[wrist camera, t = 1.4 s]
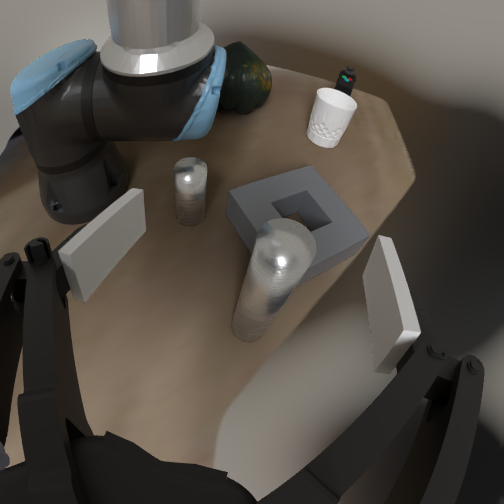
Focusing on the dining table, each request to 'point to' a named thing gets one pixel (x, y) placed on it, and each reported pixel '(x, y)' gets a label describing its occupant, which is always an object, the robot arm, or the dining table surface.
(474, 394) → the robot arm
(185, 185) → the short steel pin
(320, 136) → the white cup
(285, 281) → the long steel pin
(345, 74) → the controller
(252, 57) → the squash
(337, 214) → the charcoal collar block
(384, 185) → the dining table surface
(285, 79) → the dining table surface
